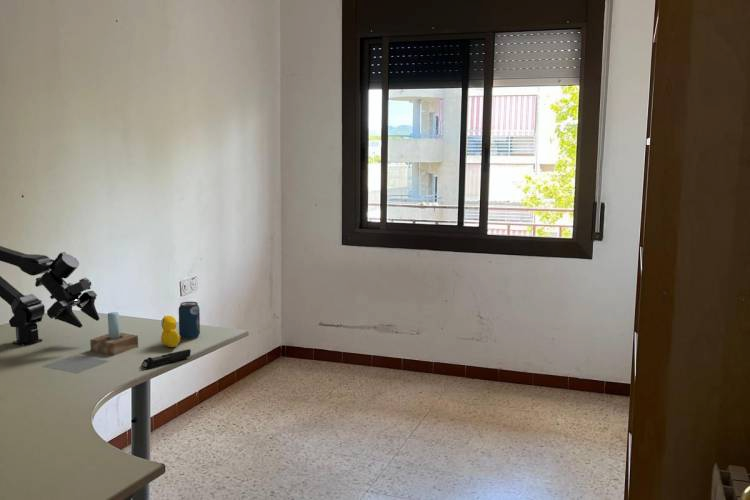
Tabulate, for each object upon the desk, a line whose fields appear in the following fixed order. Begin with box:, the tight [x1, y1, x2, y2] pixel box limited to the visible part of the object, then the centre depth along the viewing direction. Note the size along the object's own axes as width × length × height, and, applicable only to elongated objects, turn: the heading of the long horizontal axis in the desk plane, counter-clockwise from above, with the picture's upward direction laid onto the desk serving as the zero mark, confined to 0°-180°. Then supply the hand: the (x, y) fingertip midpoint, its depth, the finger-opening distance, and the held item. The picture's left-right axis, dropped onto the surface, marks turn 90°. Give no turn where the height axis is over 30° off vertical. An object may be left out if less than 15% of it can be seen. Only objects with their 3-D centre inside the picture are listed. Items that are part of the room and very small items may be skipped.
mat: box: [42, 354, 110, 374], centre depth 188 cm, size 14×12×1 cm
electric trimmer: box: [141, 348, 192, 370], centre depth 192 cm, size 4×16×3 cm, turn 138°
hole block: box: [89, 332, 139, 356], centre depth 203 cm, size 10×10×4 cm
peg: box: [107, 311, 120, 340], centre depth 202 cm, size 3×3×12 cm
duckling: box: [160, 315, 181, 348], centre depth 208 cm, size 11×5×10 cm, turn 33°
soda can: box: [178, 301, 201, 340], centre depth 218 cm, size 7×7×12 cm
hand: (90, 323), depth 203 cm, fingers open, 9 cm apart
